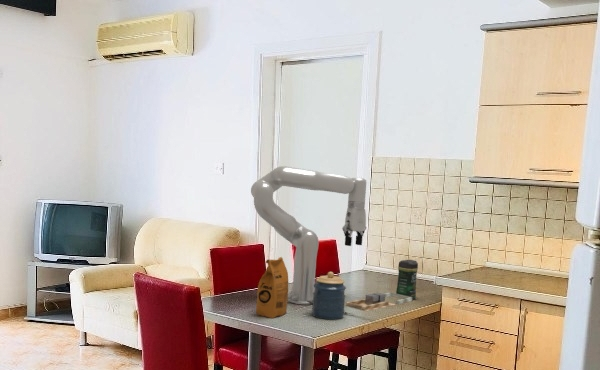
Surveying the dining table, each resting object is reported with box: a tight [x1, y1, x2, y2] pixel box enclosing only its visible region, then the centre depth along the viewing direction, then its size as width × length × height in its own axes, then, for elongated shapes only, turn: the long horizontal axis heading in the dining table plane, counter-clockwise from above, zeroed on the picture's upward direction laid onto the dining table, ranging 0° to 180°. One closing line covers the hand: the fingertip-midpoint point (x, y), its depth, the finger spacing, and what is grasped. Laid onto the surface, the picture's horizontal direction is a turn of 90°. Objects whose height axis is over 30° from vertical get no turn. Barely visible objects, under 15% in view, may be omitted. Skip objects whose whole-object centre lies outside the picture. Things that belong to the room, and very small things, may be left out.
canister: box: [311, 271, 347, 320], centre depth 223 cm, size 13×13×18 cm
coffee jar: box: [395, 259, 419, 300], centre depth 265 cm, size 10×8×19 cm
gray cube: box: [364, 293, 379, 305], centre depth 241 cm, size 4×4×4 cm
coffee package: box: [255, 256, 289, 319], centre depth 219 cm, size 10×12×22 cm
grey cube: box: [372, 292, 386, 303], centre depth 245 cm, size 4×4×4 cm
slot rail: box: [344, 292, 414, 312], centre depth 246 cm, size 36×12×3 cm, turn 137°
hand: (353, 244), depth 249 cm, fingers open, 7 cm apart
